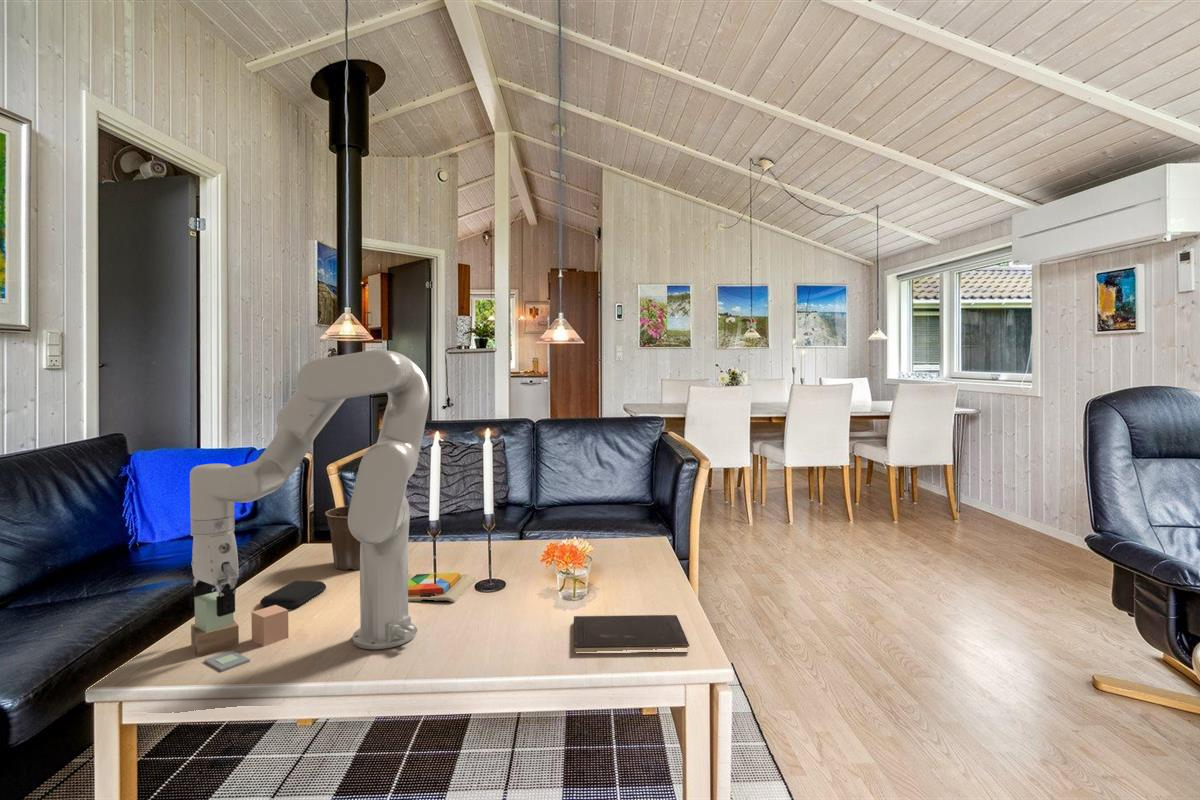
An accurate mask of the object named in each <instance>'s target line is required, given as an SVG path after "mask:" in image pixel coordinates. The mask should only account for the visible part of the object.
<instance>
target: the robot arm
mask: <svg viewBox="0 0 1200 800" xmlns="http://www.w3.org/2000/svg"><path fill="white" fill-rule="evenodd" d="M296 386H297V388H296V390H295V392H294V393H293V394H292V395H291V397H289V399H288V400H287V402H285V404H284V405H283V406H282V407H281V409H280V410H279V411H278V412H277V415H276V417H275V420H276V424H277V428H276V429H277V430H276V433H275V435H274V436H273V438H272V440H271V442H270V443H269V444H268V446H267V447H266V448H265V450H264V451H263V452H262V453H261V454H260V456H259V457H258V458H257V459H256V460H254V461H250V462H248V463H244V464H241V465H237V466H232V465H230V464H227V463H206V464H200V465H195V466H194V467H193V468H191V470H190V472H189V503H190V504H189V505H190V507H189V508H190V509H189V512H190V515H189V516H190V537H193V538H192V539H193V540H192V553H191V554H192V555H191V569H192V574H191V576H192V577H193V581H192V585H193V604H194V606H195V597H197V596H201V595H205V594H209V593H213V587H214V586H215V588H216V591H217V592H218V595H219V596H217V597H216V600H217V616H219V617H221V616H224V615H227V614H231V613H233V614H234V613H235V612H236V593H237V586H238V583H237V582H238V579H239V577H240V573H239V572H240V571H239V559H238V558H239V557H238V546H237V539H236V535H235V530H236V523H235V522H236V521H235V516H236V515H235V503H242V504H243V503H245V504H246V503H251V502H255V501H258V500H259V499H261V498H263V497H265V496H268V495H271V494H273V493H275V492H276V491H277V490H279V489H280V488H281V487H282V486H283V485H284V484H285V482H286V481H287V480H288V479H289V478H290V476H291V475H292V474H293V473H294V471H295V470H296V469H297V467H298V466H299V465H300V464H301V463H302V461H303V460H304V458H305V456H306V455H307V453H308V451H309V450H310V448H311V446H312V445H313V443H314V441H315V438H316V437H317V436H318V434H319V433H320V432H321V431H322V430H323V429H324V427H325V425H326V424H327V423H328V422H329V421H330V419H331V418H332V417H333V415H334V414H335V413H336V412H337V411H338V409H339V408H340V407H341V406H342V404H343V403H344V402H345V400H347V399H352V398H358V397H363V396H369V395H374V394H375V395H376V394H383V393H384V394H385V393H386V394H387V397H388V398H387V403H386V407H385V410H384V414H383V416H382V422H381V428H380V430H379V434H378V438H377V441H376V443H374V444H372V445H371V446H370V447H369V448H367V450H366V451H365V453H364V455H363V456H362V458H361V460H360V463H359V466H358V471H357V474H356V478H355V482H354V486H353V491H352V495H351V500H350V504H349V506H350V507H349V512H348V527H349V530H350V532H351V534H352V535H353V536H354V538H355V539H357V540H358V541H360V542H361V544H360V569H359V596H360V597H359V598H360V599H359V607H360V608H359V609H360V610H359V614H360V615H359V616H360V618H359V619H360V623H359V625H360V627H359V628H358V629H356V631H354V632H353V634H352V640H351V641H352V644H353V646H354V645H355V647H358V648H360V649H365V650H385V649H391V648H395V647H398V646H401V645H403V644H406V643H408V642H410V641H412V639H414V637H415V636H416V635H417V632H418V628H417V626H416V625H415V624H414V623H412V621H411V620H412V617H411V616H410V615H409V602H408V574H409V534H410V533H409V532H410V522H411V521H410V520H411V519H410V517H411V513H410V512H411V511H410V510H411V509H410V503H409V501H408V498H407V496H406V490H407V487H408V483H409V479H410V478H411V477H412V476H413V474H414V473H415V472H416V470H417V466H418V461H419V457H420V451H421V447H422V441H423V437H424V433H425V426H426V422H427V417H428V411H429V405H430V387H429V384H428V380H427V378H426V376H425V374H424V373H423V371H422V370H421V369H420V367H419V366H418V365H417V364H416V363H415V362H414V361H413V360H411V359H410V358H408V357H407V356H406V355H404V354H402V353H399V352H397V351H392V350H387V349H370V350H366V351H358V352H352V353H348V354H341V355H334V356H328V357H326V356H325V357H319V358H315V359H312V360H310V361H308V362H307V363H305V364H304V365H303V366H301V368H300V369H299V371H298V373H297V376H296ZM223 585H224V586H223Z"/></svg>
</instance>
